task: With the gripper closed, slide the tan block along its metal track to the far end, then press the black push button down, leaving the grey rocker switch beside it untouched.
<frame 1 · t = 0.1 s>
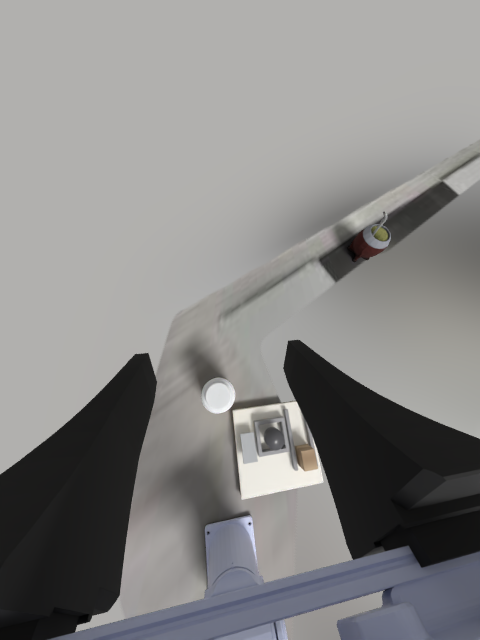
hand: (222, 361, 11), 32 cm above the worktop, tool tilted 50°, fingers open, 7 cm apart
supplement bottle: (218, 392, 40), on the worktop
tan block: (305, 456, 36), point 3 cm above the worktop, slide at 0.0 cm
black push button: (273, 438, 35), point 4 cm above the worktop, slide at 0.0 cm
grey rocker switch: (248, 447, 35), point 3 cm above the worktop, hinge at 10.0°
switch board: (274, 443, 39), on the worktop
mate gourd: (355, 254, 55), on the worktop
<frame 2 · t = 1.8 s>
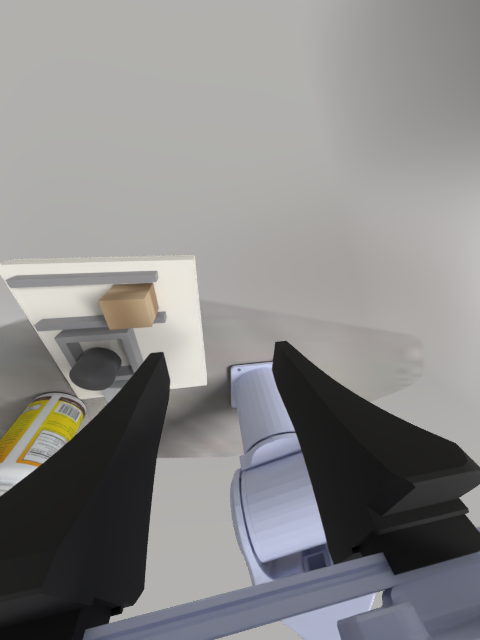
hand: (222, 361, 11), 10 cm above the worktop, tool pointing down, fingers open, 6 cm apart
supplement bottle: (63, 404, 25), on the worktop
tan block: (132, 305, 16), point 3 cm above the worktop, slide at 0.0 cm
black push button: (97, 368, 17), point 4 cm above the worktop, slide at 0.0 cm
grey rocker switch: (127, 392, 21), point 3 cm above the worktop, hinge at 10.0°
switch board: (132, 331, 21), on the worktop
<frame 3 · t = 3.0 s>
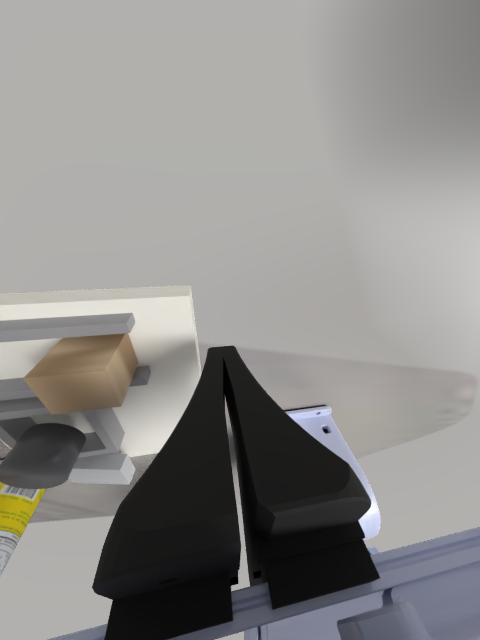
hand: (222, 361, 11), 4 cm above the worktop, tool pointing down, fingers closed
supplement bottle: (20, 468, 19), on the worktop
tan block: (92, 368, 10), point 3 cm above the worktop, slide at 0.0 cm
black push button: (45, 455, 12), point 4 cm above the worktop, slide at 0.0 cm
grey rocker switch: (99, 468, 15), point 3 cm above the worktop, hinge at 10.0°
switch board: (105, 385, 15), on the worktop
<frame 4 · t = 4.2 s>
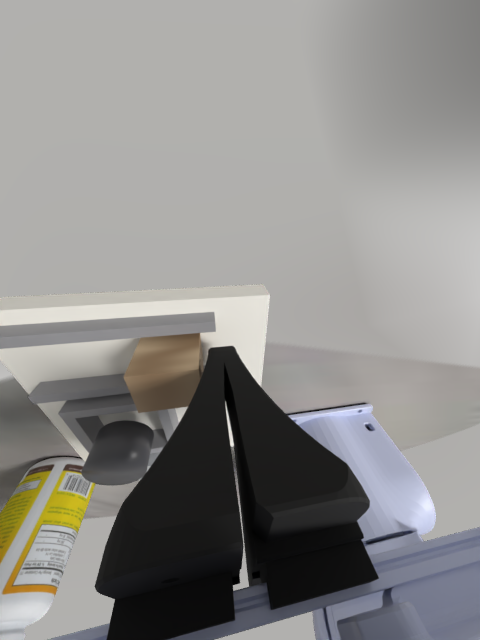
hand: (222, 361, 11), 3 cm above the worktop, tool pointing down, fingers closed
supplement bottle: (68, 466, 19), on the worktop
tan block: (171, 367, 10), point 3 cm above the worktop, slide at 0.4 cm, touching gripper
black push button: (121, 452, 12), point 4 cm above the worktop, slide at 0.0 cm
grey rocker switch: (157, 465, 15), point 3 cm above the worktop, hinge at 10.0°
switch board: (164, 383, 15), on the worktop
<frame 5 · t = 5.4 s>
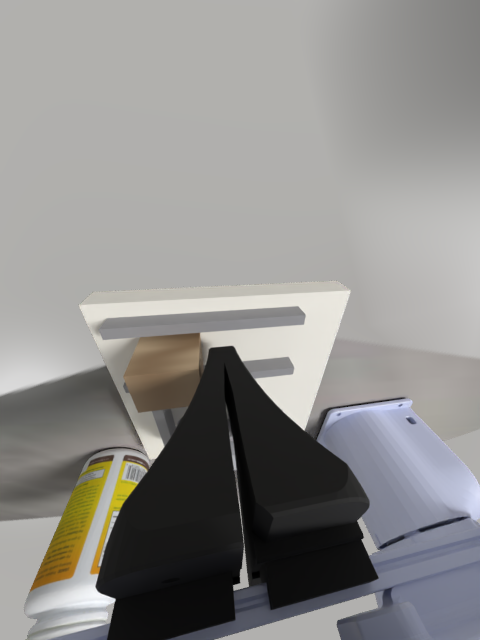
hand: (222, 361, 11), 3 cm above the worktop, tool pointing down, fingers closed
supplement bottle: (121, 458, 20), on the worktop
tan block: (171, 367, 10), point 3 cm above the worktop, slide at 5.1 cm, touching gripper
black push button: (202, 440, 12), point 4 cm above the worktop, slide at 0.0 cm
grey rocker switch: (219, 455, 16), point 3 cm above the worktop, hinge at 10.0°
switch board: (227, 376, 16), on the worktop
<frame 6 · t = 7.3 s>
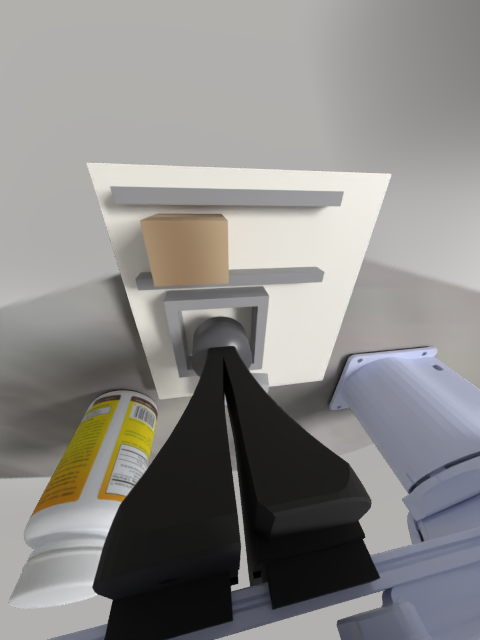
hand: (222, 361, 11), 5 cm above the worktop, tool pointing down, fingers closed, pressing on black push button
supplement bottle: (127, 405, 18), on the worktop
tan block: (191, 246, 9), point 3 cm above the worktop, slide at 5.1 cm
black push button: (221, 349, 11), point 4 cm above the worktop, slide at 0.3 cm, touching gripper
grey rocker switch: (236, 389, 15), point 3 cm above the worktop, hinge at 10.0°
switch board: (244, 302, 14), on the worktop
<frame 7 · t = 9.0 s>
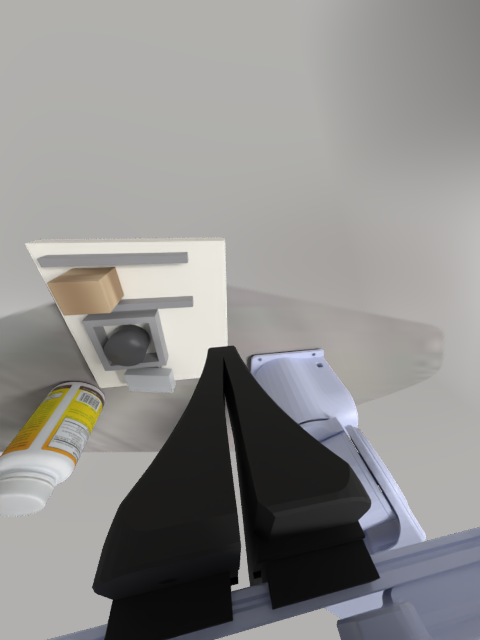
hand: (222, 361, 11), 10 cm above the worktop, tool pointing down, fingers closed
supplement bottle: (81, 393, 24), on the worktop
tan block: (90, 289, 15), point 3 cm above the worktop, slide at 5.1 cm
black push button: (128, 345, 18), point 3 cm above the worktop, slide at 1.1 cm
grey rocker switch: (150, 380, 20), point 3 cm above the worktop, hinge at 10.0°
switch board: (156, 317, 20), on the worktop
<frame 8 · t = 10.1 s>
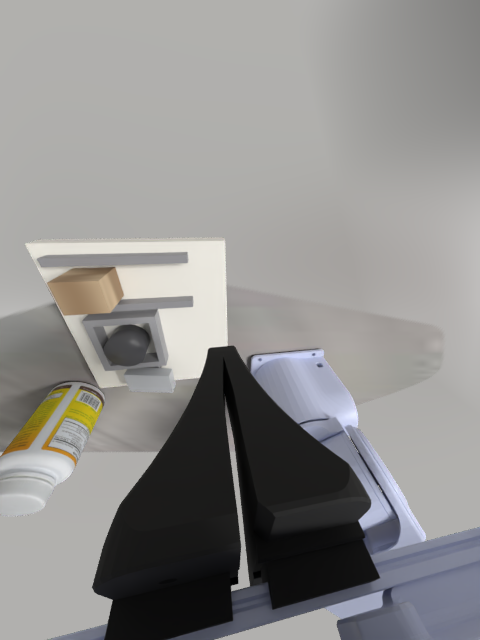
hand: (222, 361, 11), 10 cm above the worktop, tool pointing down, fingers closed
supplement bottle: (81, 393, 24), on the worktop
tan block: (90, 289, 15), point 3 cm above the worktop, slide at 5.1 cm
black push button: (128, 345, 18), point 3 cm above the worktop, slide at 1.1 cm
grey rocker switch: (150, 380, 20), point 3 cm above the worktop, hinge at 10.0°
switch board: (156, 317, 20), on the worktop
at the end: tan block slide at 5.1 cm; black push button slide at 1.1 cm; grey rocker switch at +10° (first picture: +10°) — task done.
